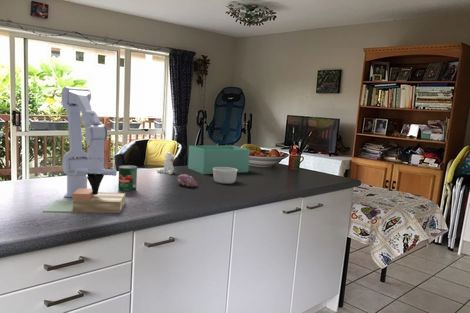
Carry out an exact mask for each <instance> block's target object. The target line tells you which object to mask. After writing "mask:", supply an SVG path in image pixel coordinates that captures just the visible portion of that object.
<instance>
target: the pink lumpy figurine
mask: <svg viewBox="0 0 470 313" xmlns="http://www.w3.org/2000/svg"><path fill="white" fill-rule="evenodd" d="M176 180H177V181H178V183H179V184H181V185H182V186H185V185H186V186H187V187H190V186H191V185H192V186H193V187H197V186H198V182H197V181H196V179H194V177H193V176H192V175H189V174H179V175H178V176H177V177H176Z"/></svg>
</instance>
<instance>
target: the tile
mask: <svg viewBox="0 0 470 313" xmlns="http://www.w3.org/2000/svg"><path fill="white" fill-rule="evenodd" d="M93 196H94V195H93V191H92V188H88V187H87V188H78V189H77V190H76V191H75V192H74V193H73V194H72V197H71V198H72V200H75V199H84V200H90V199H91V198H92V197H93Z"/></svg>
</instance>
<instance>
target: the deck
mask: <svg viewBox="0 0 470 313" xmlns="http://www.w3.org/2000/svg"><path fill="white" fill-rule="evenodd" d="M72 201H73V212H72V213H101V214H102V213H103V214H106V213H107V214H108V213H109V214H112V213H115V214H120V213H121V212H122V209H123V208H124V206H125V205H126V193H123V192H104V191H102V192H101V191H100V192H99V191H98V194H97V195H94V196H93V197H92V198H91V199H90V200H84V199H73V200H72Z"/></svg>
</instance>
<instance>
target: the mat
mask: <svg viewBox="0 0 470 313" xmlns="http://www.w3.org/2000/svg"><path fill="white" fill-rule="evenodd" d="M73 201H74V200H73V199H72V200H64V199H63V200H62V199H56V200H54V202H52V203H51V204H49V206H47V207H46V208H44V209H43V210H42V213H74V212H73Z"/></svg>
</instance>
